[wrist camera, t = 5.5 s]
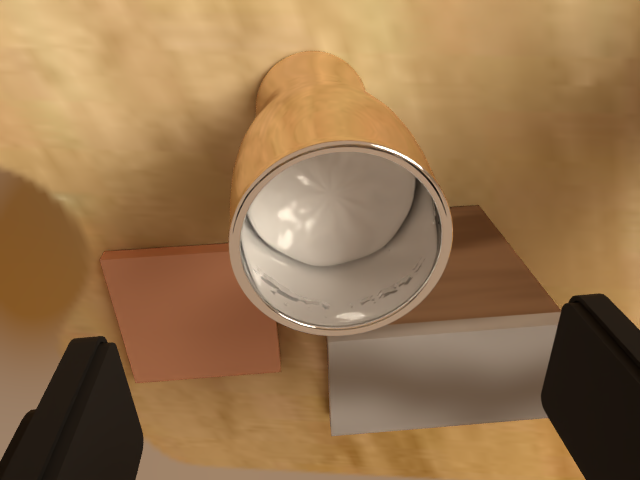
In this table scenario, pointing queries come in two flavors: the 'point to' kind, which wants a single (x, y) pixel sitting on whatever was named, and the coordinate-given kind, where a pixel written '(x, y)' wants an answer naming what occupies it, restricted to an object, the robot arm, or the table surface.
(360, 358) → the brown two-tone block
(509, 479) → the table surface
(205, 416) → the table surface
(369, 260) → the beer glass
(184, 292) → the terracotta coaster
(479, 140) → the table surface
